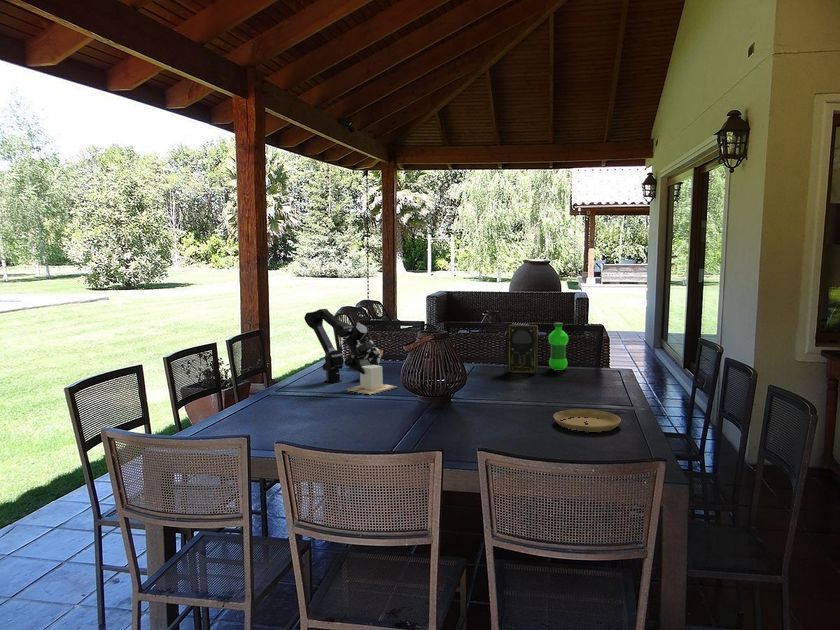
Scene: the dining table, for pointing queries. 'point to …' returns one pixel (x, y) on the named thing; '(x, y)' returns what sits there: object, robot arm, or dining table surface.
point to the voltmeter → (522, 348)
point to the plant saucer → (594, 424)
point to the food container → (366, 362)
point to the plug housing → (371, 377)
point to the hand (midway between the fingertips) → (371, 372)
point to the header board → (374, 391)
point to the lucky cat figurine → (373, 350)
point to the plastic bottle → (558, 347)
